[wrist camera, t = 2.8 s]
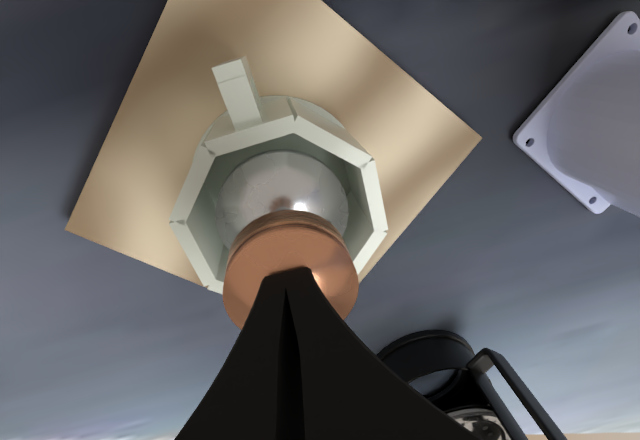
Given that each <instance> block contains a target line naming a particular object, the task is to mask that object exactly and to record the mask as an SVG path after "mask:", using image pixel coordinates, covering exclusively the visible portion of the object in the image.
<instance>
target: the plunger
mask: <svg viewBox="0 0 640 440" xmlns="http://www.w3.org/2000/svg"><path fill="white" fill-rule="evenodd" d="M215 220H216V226H217V230H218V233H219V235H220V238H221V239H222V241H223V243H224V244H225V246H226V247H227V248H228V250H229V254H228V260H227V266H226V272H225V278H224V284H223V302H224V306H225V309H226V311H227V313H228V315H229V317H230V318H231V320H232V321H233V322H234V323H235V324H236V326H238V327H239V328H240V329H241V330H242V328H243V326H244V324H245V321H246V319H247V317H248V315H249V313H250V310H251V308H252V306H253V303H254V301H255V298H256V296H257V293H258V290H259V287H260V285H261V282H262V280H263V278H264V277H265V276H269V275H273V274H278V273H282V272H286V271H291V270H295V269H299V268H303V267H308V268H310V269H311V270H312V273H313V276H314V278H315V280H316V282H317V284H318V286H319V287H320V289H321V291H322V292H323V294H324V295H325V297H326V298H327V300H328V301H329V302H330V304H331V305H332V306H333V308H334V309H335V310H336V312H337V313H338V314H339V316H340V317H341V318H342V319H343V320H344V319H345V318H346V317H347V315H348V314H349V313H350V311H351V310H352V308H353V306H354V304H355V302H356V299H357V295H358V289H359V280H358V275H357V272H356V269H355V266H354V264H353V261H352V259H351V256H350V254H349V252H348V249H347V247H346V244H345V242H344V239H343V238H342V236H343V234H344V232H345V229H346V226H347V222H348V202H347V197H346V194H345V191H344V189H343V187H342V185H341V183H340V181H339V180H338V178H337V177H336V175H335V174H334V172H333V171H332V170H331V169H330V168H329V167H328V166H327V165H326V164H324V163H323V162H322V161H321V160H319V159H317V158H316V157H314V156H312V155H309V154H307V153H304V152H301V151H297V150H290V149H275V150H268V151H264V152H261V153H258V154H255V155H253V156H251V157H249V158H247V159H245V160H244V161H242V162H241V163H240V164H238V165H237V166H236V167H235V168H234V169H233V170H232V171H231V172H230V174H229V175H228V176H227V177H226V179H225V181H224V183H223V184H222V187H221V189H220V192H219V195H218V198H217V203H216V209H215Z"/></svg>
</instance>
